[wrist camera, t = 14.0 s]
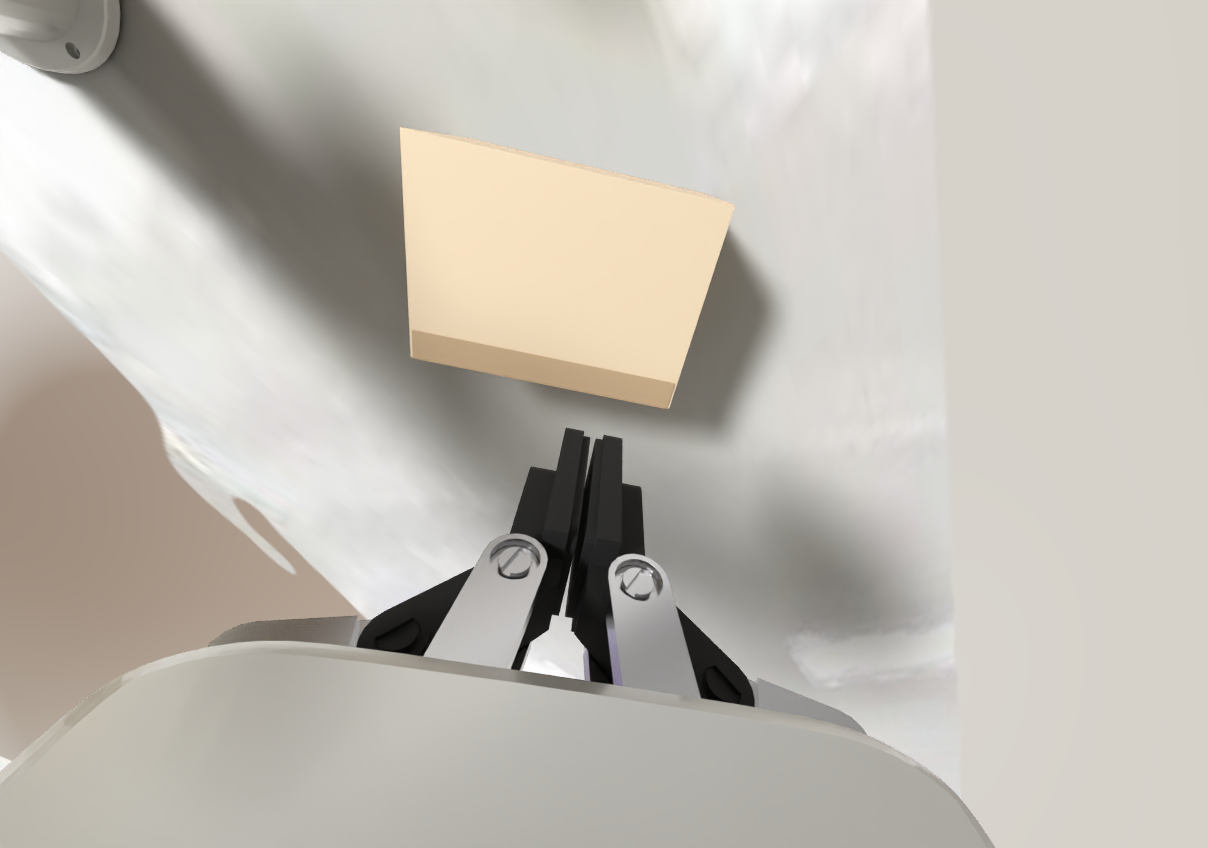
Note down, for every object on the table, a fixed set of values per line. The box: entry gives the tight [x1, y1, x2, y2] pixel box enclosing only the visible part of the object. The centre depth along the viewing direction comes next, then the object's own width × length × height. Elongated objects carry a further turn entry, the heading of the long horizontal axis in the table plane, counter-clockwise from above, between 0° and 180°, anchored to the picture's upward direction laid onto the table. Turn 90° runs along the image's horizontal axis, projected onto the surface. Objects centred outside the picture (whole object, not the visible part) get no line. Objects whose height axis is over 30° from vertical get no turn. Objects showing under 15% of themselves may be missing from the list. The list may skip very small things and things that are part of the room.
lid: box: [400, 127, 735, 409], centre depth 26 cm, size 18×13×1 cm
